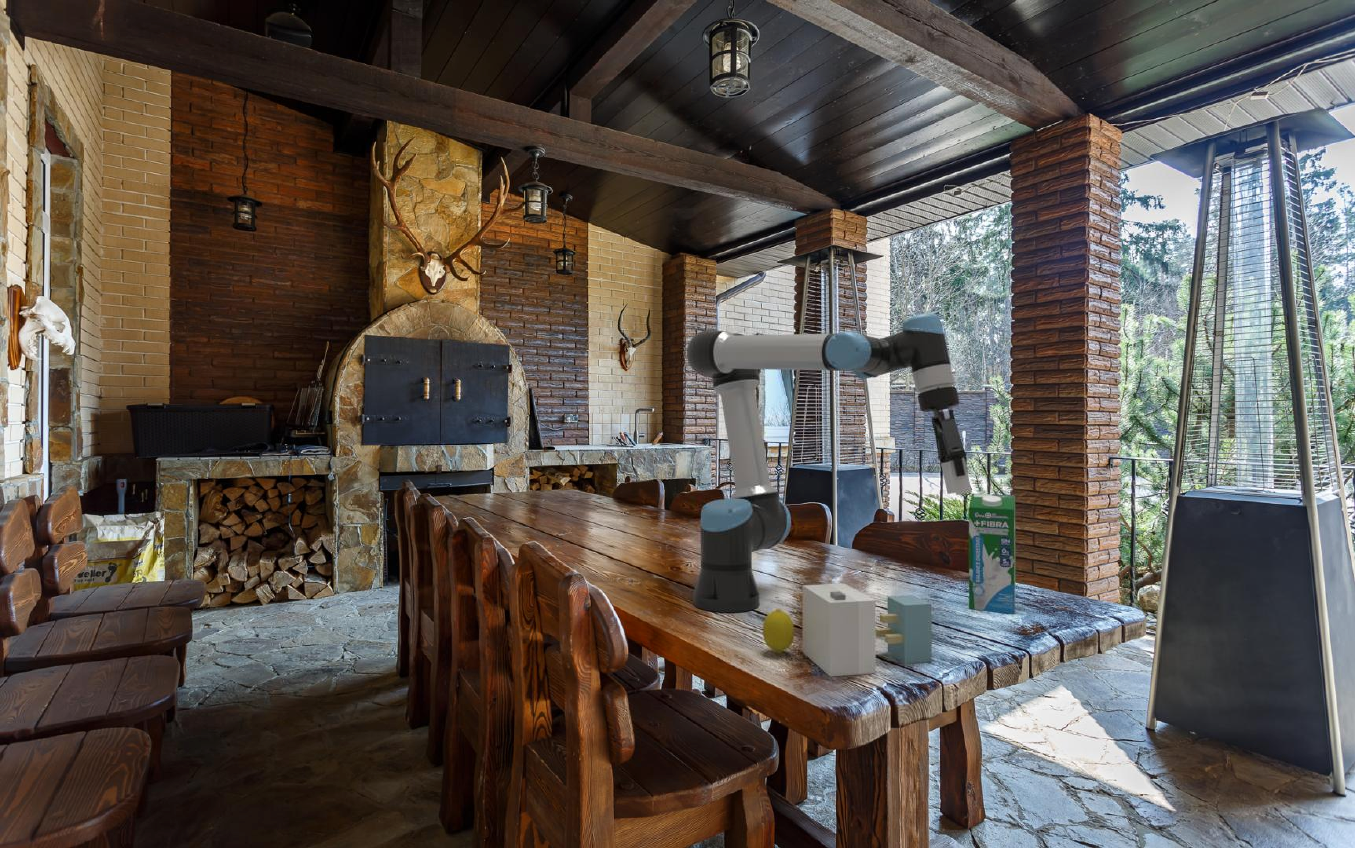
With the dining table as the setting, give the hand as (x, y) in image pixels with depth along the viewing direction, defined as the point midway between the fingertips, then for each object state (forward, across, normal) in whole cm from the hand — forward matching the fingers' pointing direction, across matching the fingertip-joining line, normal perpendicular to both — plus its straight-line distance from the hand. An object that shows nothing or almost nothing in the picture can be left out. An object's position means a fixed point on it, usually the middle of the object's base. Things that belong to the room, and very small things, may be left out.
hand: (959, 493), depth 133 cm
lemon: (+22, -20, +38) cm, 49 cm away
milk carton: (+27, +23, -4) cm, 36 cm away
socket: (+24, -22, +27) cm, 42 cm away
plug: (+26, -17, +17) cm, 35 cm away
